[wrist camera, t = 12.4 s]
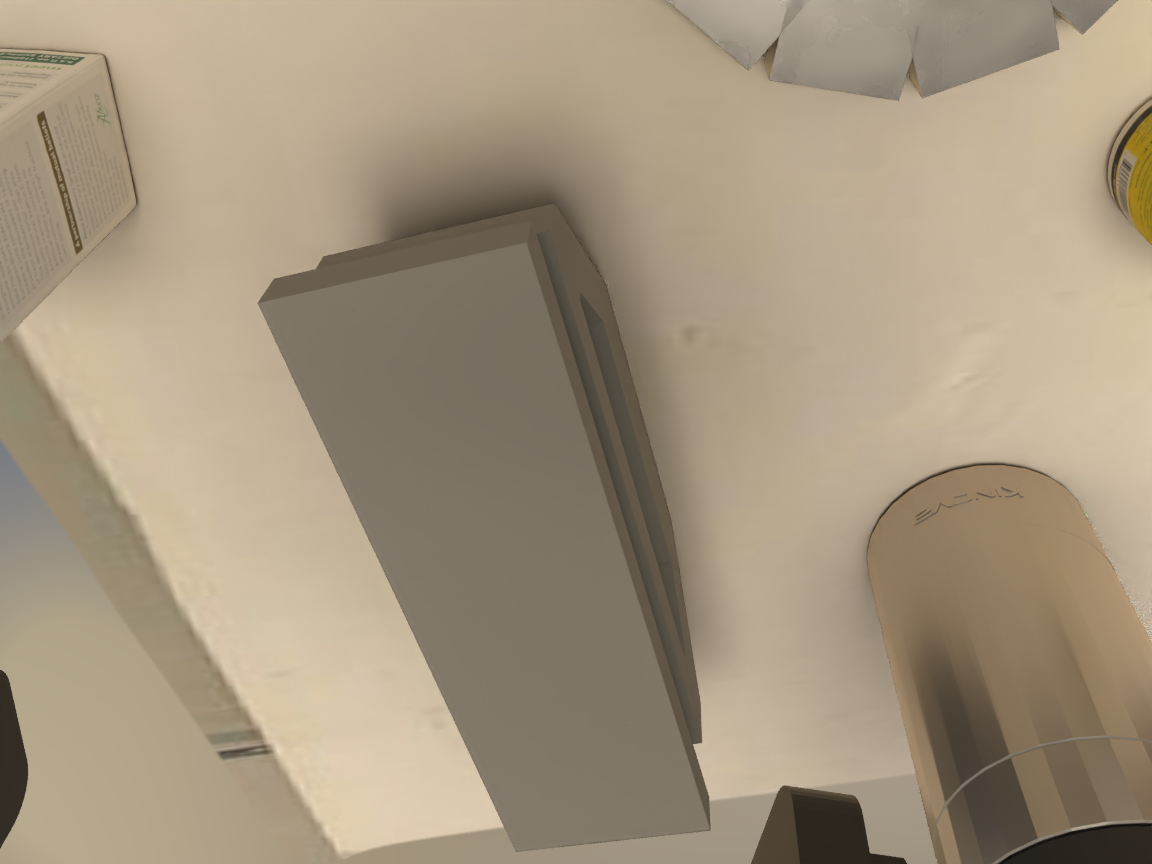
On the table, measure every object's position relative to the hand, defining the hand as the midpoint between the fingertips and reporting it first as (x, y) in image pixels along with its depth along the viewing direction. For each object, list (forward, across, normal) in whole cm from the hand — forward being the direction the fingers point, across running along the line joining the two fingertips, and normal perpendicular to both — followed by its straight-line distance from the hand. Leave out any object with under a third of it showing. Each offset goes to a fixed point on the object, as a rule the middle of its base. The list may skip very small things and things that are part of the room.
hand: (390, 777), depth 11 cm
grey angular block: (+30, -1, +16) cm, 34 cm away
